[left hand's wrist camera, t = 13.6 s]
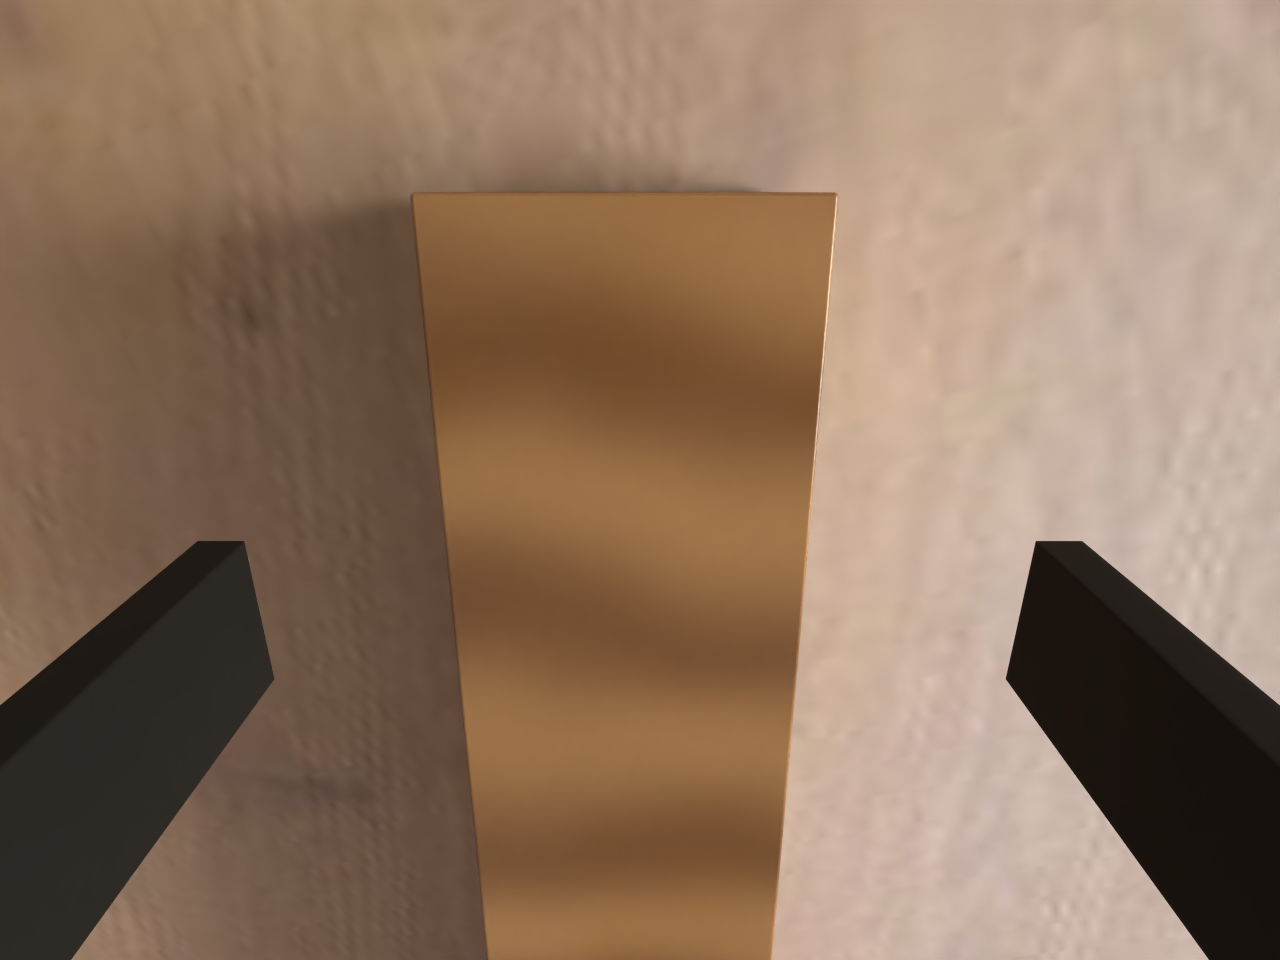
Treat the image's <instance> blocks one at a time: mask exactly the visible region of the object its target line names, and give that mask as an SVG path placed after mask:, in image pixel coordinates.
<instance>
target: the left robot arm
mask: <svg viewBox="0 0 1280 960" xmlns="http://www.w3.org/2000/svg"><path fill="white" fill-rule="evenodd" d="M273 680H274V676H273V671H272V667H271V662H270V658H269V653H268V649H267V644H266V639H265V635H264V630H263V626H262V621H261V616H260V612H259V607H258V603H257V598H256V594H255V589H254V584H253V580H252V575H251V571H250V566H249V561H248V557H247V552H246V548H245V543H244V541H198V542H196V543H195V544H194V545H193V546H192V547H190V548H189V549H188V550H187V551H185V552H184V553H183V554H182V555H181V556H179V557H178V558H177V559H176V560H175V561H173V562H172V563H171V564H170V565H169V566H167V567H166V568H165V569H164V570H163V571H161V572H160V573H159V574H158V575H157V576H155V577H154V578H153V579H152V580H151V581H149V582H148V583H147V584H146V585H145V586H143V587H142V588H141V589H140V590H139V591H137V592H136V593H135V594H134V595H133V596H131V597H130V598H129V599H128V600H127V601H125V602H124V603H123V604H122V605H121V606H119V607H118V608H117V609H116V610H114V611H113V612H112V613H111V614H110V615H108V616H107V617H106V618H105V619H104V620H102V621H101V622H100V623H99V624H98V625H96V626H95V627H94V628H93V629H92V630H90V631H89V632H88V633H87V634H86V635H84V636H83V637H82V638H81V639H80V640H78V641H77V642H76V643H75V644H74V645H72V646H71V647H70V648H69V649H68V650H66V651H65V652H64V653H63V654H62V655H60V656H59V657H58V658H57V659H56V660H54V661H53V662H52V663H51V664H50V665H48V666H47V667H46V668H45V669H43V670H42V671H41V672H40V673H39V674H37V675H36V676H35V677H34V678H33V679H31V680H30V681H29V682H28V683H27V684H25V685H24V686H23V687H22V688H21V689H19V690H18V691H17V692H16V693H15V694H13V695H12V696H11V697H10V698H9V699H7V700H6V701H5V702H4V703H3V704H1V705H0V960H71V959H72V958H73V956H74V955H75V953H76V952H77V951H78V949H79V948H80V947H81V945H82V944H83V942H84V941H85V940H86V938H87V937H88V935H89V934H90V933H91V931H92V930H93V929H94V927H95V926H96V924H97V923H98V922H99V920H100V919H101V918H102V916H103V915H104V913H105V912H106V911H107V909H108V908H109V906H110V905H111V904H112V902H113V901H114V900H115V898H116V897H117V895H118V894H119V893H120V891H121V890H122V889H123V887H124V886H125V884H126V883H127V882H128V880H129V879H130V877H131V876H132V875H133V873H134V872H135V871H136V869H137V868H138V866H139V865H140V864H141V862H142V861H143V860H144V858H145V857H146V855H147V854H148V853H149V851H150V850H151V848H152V847H153V846H154V844H155V843H156V842H157V840H158V839H159V837H160V836H161V835H162V833H163V832H164V831H165V829H166V828H167V826H168V825H169V824H170V822H171V821H172V819H173V818H174V817H175V815H176V814H177V813H178V811H179V810H180V808H181V807H182V806H183V804H184V803H185V802H186V800H187V799H188V797H189V796H190V795H191V793H192V792H193V790H194V789H195V788H196V786H197V785H198V784H199V782H200V781H201V779H202V778H203V777H204V775H205V774H206V773H207V771H208V770H209V768H210V767H211V766H212V764H213V763H214V761H215V760H216V759H217V757H218V756H219V755H220V753H221V752H222V750H223V749H224V748H225V746H226V745H227V743H228V742H229V741H230V739H231V738H232V737H233V735H234V734H235V732H236V731H237V730H238V728H239V727H240V726H241V724H242V723H243V721H244V720H245V719H246V717H247V716H248V714H249V713H250V712H251V710H252V709H253V708H254V706H255V705H256V703H257V702H258V701H259V699H260V698H261V697H262V695H263V694H264V692H265V691H266V690H267V688H268V687H269V685H270V684H271V683H272V681H273ZM1006 680H1007V681H1008V683H1009V684H1010V685H1011V687H1012V688H1013V690H1014V691H1015V692H1016V694H1017V695H1018V697H1019V698H1020V699H1021V701H1022V702H1023V703H1024V705H1025V706H1026V708H1027V709H1028V710H1029V712H1030V713H1031V714H1032V716H1033V717H1034V719H1035V720H1036V721H1037V723H1038V724H1039V726H1040V727H1041V728H1042V730H1043V731H1044V732H1045V734H1046V735H1047V737H1048V738H1049V739H1050V741H1051V742H1052V743H1053V745H1054V746H1055V748H1056V749H1057V750H1058V752H1059V753H1060V755H1061V756H1062V757H1063V759H1064V760H1065V761H1066V763H1067V764H1068V766H1069V767H1070V768H1071V770H1072V771H1073V773H1074V774H1075V775H1076V777H1077V778H1078V779H1079V781H1080V782H1081V784H1082V785H1083V786H1084V788H1085V789H1086V790H1087V792H1088V793H1089V795H1090V796H1091V797H1092V799H1093V800H1094V802H1095V803H1096V804H1097V806H1098V807H1099V808H1100V810H1101V811H1102V813H1103V814H1104V815H1105V817H1106V818H1107V819H1108V821H1109V822H1110V824H1111V825H1112V826H1113V828H1114V829H1115V831H1116V832H1117V833H1118V835H1119V836H1120V837H1121V839H1122V840H1123V842H1124V843H1125V844H1126V846H1127V847H1128V848H1129V850H1130V851H1131V853H1132V854H1133V855H1134V857H1135V858H1136V860H1137V861H1138V862H1139V864H1140V865H1141V866H1142V868H1143V869H1144V871H1145V872H1146V873H1147V875H1148V876H1149V877H1150V879H1151V880H1152V882H1153V883H1154V884H1155V886H1156V887H1157V889H1158V890H1159V891H1160V893H1161V894H1162V895H1163V897H1164V898H1165V900H1166V901H1167V902H1168V904H1169V905H1170V906H1171V908H1172V909H1173V911H1174V912H1175V913H1176V915H1177V916H1178V918H1179V919H1180V920H1181V922H1182V923H1183V924H1184V926H1185V927H1186V929H1187V930H1188V931H1189V933H1190V934H1191V935H1192V937H1193V938H1194V940H1195V941H1196V942H1197V944H1198V945H1199V947H1200V948H1201V949H1202V951H1203V952H1204V953H1205V955H1206V956H1207V958H1208V959H1209V960H1280V705H1279V704H1277V703H1276V702H1275V701H1274V700H1273V699H1271V698H1270V697H1269V696H1268V695H1267V694H1265V693H1264V692H1263V691H1262V690H1261V689H1259V688H1258V687H1257V686H1256V685H1255V684H1253V683H1252V682H1251V681H1250V680H1249V679H1247V678H1246V677H1245V676H1244V675H1243V674H1241V673H1240V672H1239V671H1238V670H1237V669H1235V668H1234V667H1233V666H1232V665H1230V664H1229V663H1228V662H1227V661H1226V660H1224V659H1223V658H1222V657H1221V656H1220V655H1218V654H1217V653H1216V652H1215V651H1214V650H1212V649H1211V648H1210V647H1209V646H1208V645H1206V644H1205V643H1204V642H1203V641H1202V640H1200V639H1199V638H1198V637H1197V636H1196V635H1194V634H1193V633H1192V632H1191V631H1190V630H1188V629H1187V628H1186V627H1185V626H1184V625H1182V624H1181V623H1180V622H1179V621H1178V620H1176V619H1175V618H1174V617H1173V616H1172V615H1170V614H1169V613H1168V612H1167V611H1166V610H1164V609H1163V608H1162V607H1161V606H1159V605H1158V604H1157V603H1156V602H1155V601H1153V600H1152V599H1151V598H1150V597H1149V596H1147V595H1146V594H1145V593H1144V592H1143V591H1141V590H1140V589H1139V588H1138V587H1137V586H1135V585H1134V584H1133V583H1132V582H1131V581H1129V580H1128V579H1127V578H1126V577H1125V576H1123V575H1122V574H1121V573H1120V572H1119V571H1117V570H1116V569H1115V568H1114V567H1113V566H1111V565H1110V564H1109V563H1108V562H1107V561H1105V560H1104V559H1103V558H1102V557H1101V556H1099V555H1098V554H1097V553H1096V552H1095V551H1093V550H1092V549H1091V548H1090V547H1088V546H1087V545H1086V544H1085V543H1084V542H1082V541H1036V543H1035V548H1034V552H1033V557H1032V561H1031V566H1030V571H1029V575H1028V580H1027V584H1026V589H1025V594H1024V598H1023V603H1022V607H1021V612H1020V616H1019V621H1018V626H1017V630H1016V635H1015V639H1014V644H1013V649H1012V653H1011V658H1010V662H1009V667H1008V671H1007V676H1006Z"/></svg>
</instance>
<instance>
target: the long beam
mask: <svg viewBox="0 0 1280 960" xmlns="http://www.w3.org/2000/svg"><path fill="white" fill-rule="evenodd" d="M838 198H839V197H838V194H836V193H810V192H423V193H412V194H411V207H412V217H413V226H414V236H415V246H416V256H417V266H418V276H419V286H420V296H421V306H422V316H423V326H424V336H425V346H426V356H427V365H428V375H429V385H430V395H431V405H432V415H433V425H434V435H435V445H436V455H437V465H438V475H439V485H440V495H441V505H442V514H443V524H444V534H445V544H446V554H447V564H448V574H449V584H450V594H451V604H452V614H453V624H454V634H455V644H456V653H457V663H458V673H459V683H460V693H461V703H462V713H463V723H464V733H465V743H466V753H467V763H468V773H469V783H470V792H471V802H472V812H473V822H474V832H475V842H476V852H477V862H478V872H479V882H480V892H481V902H482V912H483V922H484V931H485V941H486V951H487V960H772V951H773V939H774V928H775V917H776V905H777V894H778V882H779V871H780V860H781V848H782V837H783V825H784V814H785V803H786V791H787V780H788V768H789V757H790V745H791V734H792V723H793V711H794V700H795V688H796V677H797V666H798V654H799V643H800V631H801V620H802V609H803V597H804V586H805V574H806V563H807V552H808V540H809V529H810V517H811V506H812V494H813V483H814V472H815V460H816V449H817V437H818V426H819V415H820V403H821V392H822V380H823V369H824V358H825V346H826V335H827V323H828V312H829V300H830V289H831V278H832V266H833V255H834V243H835V232H836V221H837V209H838Z"/></svg>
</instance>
